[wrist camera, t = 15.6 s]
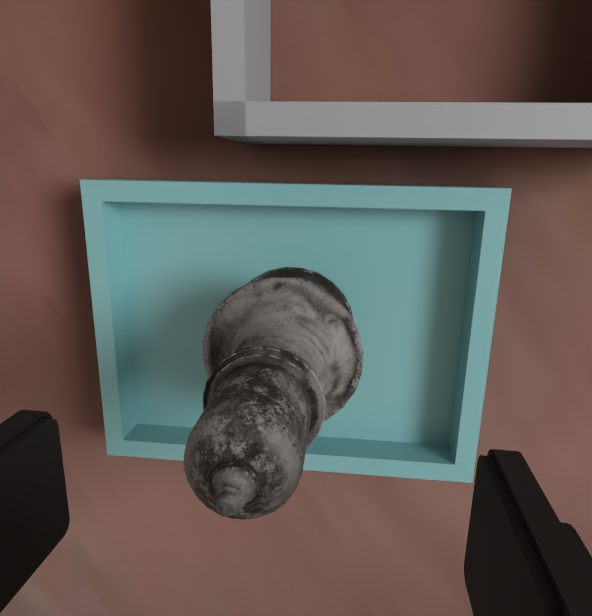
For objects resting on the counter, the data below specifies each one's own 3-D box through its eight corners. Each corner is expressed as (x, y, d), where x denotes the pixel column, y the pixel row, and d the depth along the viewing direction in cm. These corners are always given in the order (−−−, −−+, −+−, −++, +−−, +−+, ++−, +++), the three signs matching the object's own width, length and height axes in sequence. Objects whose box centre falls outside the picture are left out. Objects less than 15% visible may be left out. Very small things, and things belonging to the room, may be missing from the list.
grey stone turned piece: (385, 296, 20) (432, 460, 9) (325, 410, 22) (298, 673, 10) (256, 236, 20) (133, 322, 9) (206, 356, 22) (47, 560, 10)
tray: (492, 186, 20) (511, 188, 17) (459, 450, 23) (472, 482, 21) (110, 178, 21) (79, 179, 19) (131, 427, 24) (107, 454, 22)
